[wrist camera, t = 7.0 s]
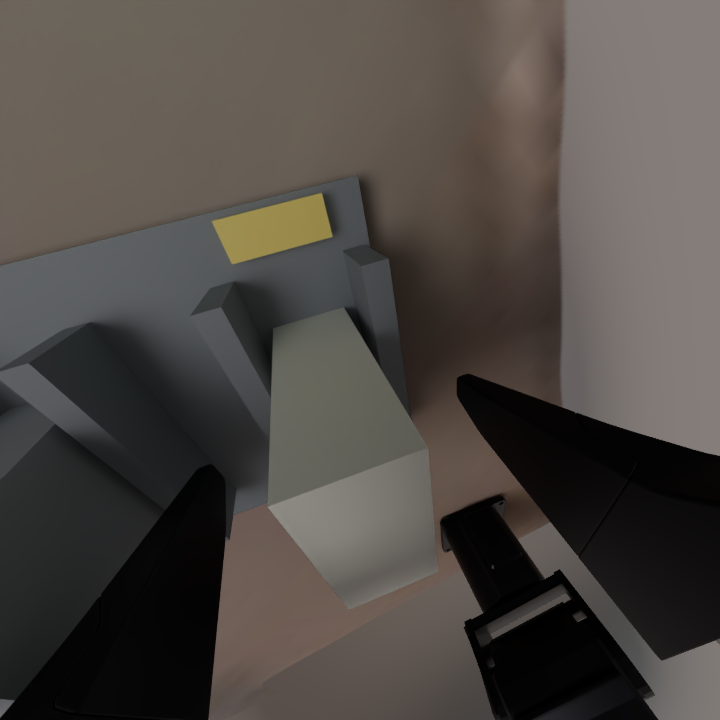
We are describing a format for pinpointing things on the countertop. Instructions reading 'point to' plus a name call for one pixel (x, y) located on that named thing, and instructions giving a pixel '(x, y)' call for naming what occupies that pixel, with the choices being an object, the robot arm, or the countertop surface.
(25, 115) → the countertop surface
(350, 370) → the block
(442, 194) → the countertop surface
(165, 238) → the rack
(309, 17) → the countertop surface
